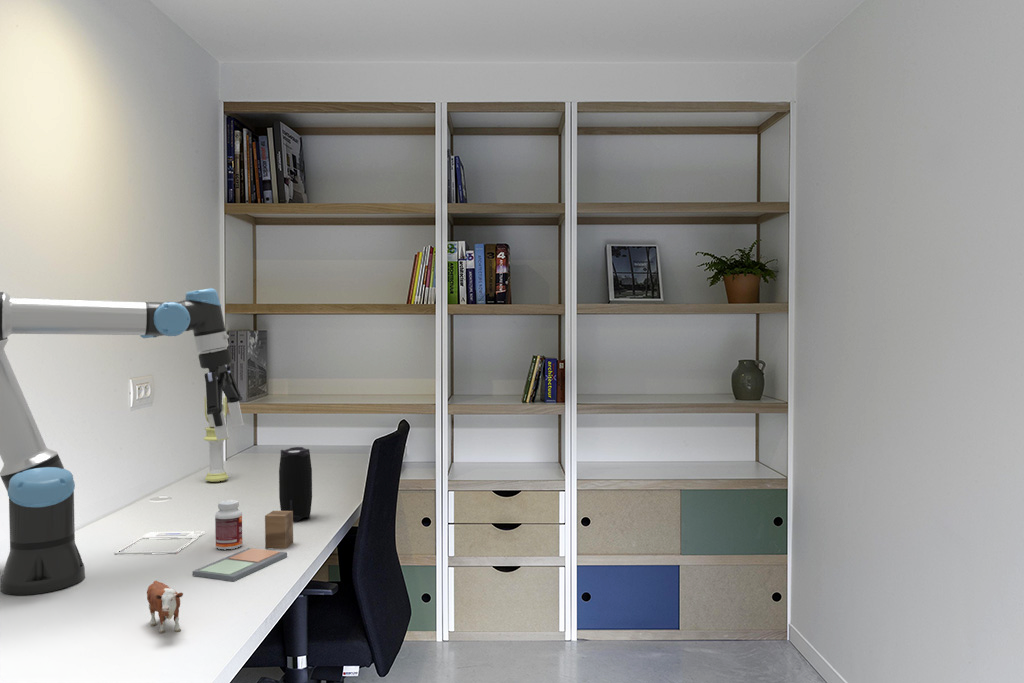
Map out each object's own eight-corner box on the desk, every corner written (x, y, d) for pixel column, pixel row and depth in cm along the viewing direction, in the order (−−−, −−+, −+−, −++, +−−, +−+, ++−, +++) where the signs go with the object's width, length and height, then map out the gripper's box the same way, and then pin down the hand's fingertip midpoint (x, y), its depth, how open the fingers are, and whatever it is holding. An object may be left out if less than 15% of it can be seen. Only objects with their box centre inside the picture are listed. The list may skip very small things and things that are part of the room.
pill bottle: (245, 547, 184) (244, 502, 183) (218, 552, 180) (218, 506, 180) (239, 541, 189) (238, 498, 189) (213, 546, 185) (212, 501, 185)
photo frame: (205, 530, 197) (176, 551, 179) (205, 534, 197) (176, 555, 179) (149, 531, 197) (114, 551, 179) (149, 535, 197) (114, 556, 179)
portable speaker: (292, 513, 217) (292, 445, 216) (319, 516, 213) (318, 447, 213) (272, 520, 209) (271, 450, 209) (299, 524, 205) (298, 452, 205)
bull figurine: (160, 644, 128) (159, 596, 128) (144, 619, 139) (143, 575, 139) (187, 637, 131) (186, 590, 131) (170, 613, 142) (169, 570, 141)
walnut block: (285, 548, 183) (284, 516, 182) (265, 548, 183) (264, 515, 183) (293, 542, 188) (292, 510, 187) (273, 542, 188) (273, 510, 188)
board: (233, 581, 159) (233, 575, 159) (192, 575, 163) (192, 570, 163) (287, 556, 176) (286, 551, 176) (248, 552, 180) (248, 547, 180)
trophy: (220, 484, 258) (219, 396, 258) (200, 483, 260) (198, 396, 259) (233, 479, 267) (231, 394, 266) (213, 478, 268) (212, 394, 267)
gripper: (213, 353, 177) (231, 441, 179) (242, 342, 202) (258, 419, 204) (181, 359, 176) (199, 446, 179) (213, 347, 201) (230, 424, 204)
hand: (231, 432), depth 192 cm, fingers open, 13 cm apart
